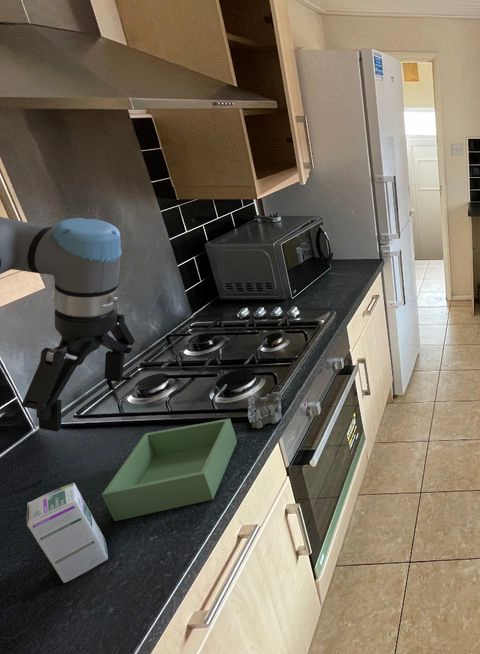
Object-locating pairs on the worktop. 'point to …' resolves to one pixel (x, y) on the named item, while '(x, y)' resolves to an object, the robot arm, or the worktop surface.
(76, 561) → the syrup box
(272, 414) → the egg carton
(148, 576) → the worktop surface
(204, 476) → the storage tray
